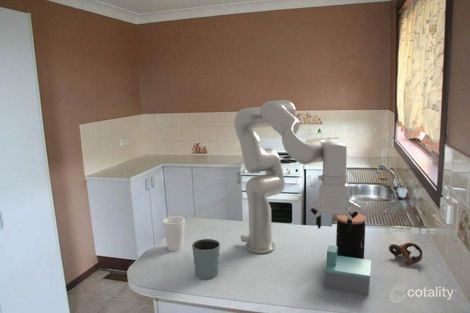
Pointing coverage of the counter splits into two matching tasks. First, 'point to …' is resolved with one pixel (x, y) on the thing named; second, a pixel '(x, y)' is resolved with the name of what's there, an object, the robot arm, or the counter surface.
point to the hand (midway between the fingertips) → (333, 228)
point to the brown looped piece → (406, 252)
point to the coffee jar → (351, 237)
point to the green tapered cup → (206, 258)
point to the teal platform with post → (346, 264)
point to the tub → (347, 283)
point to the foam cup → (174, 232)
